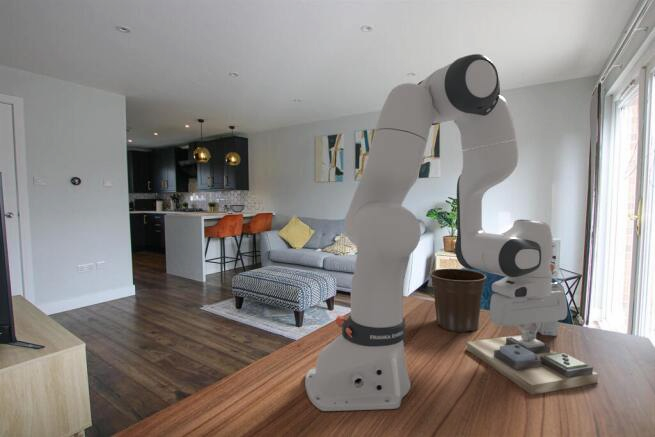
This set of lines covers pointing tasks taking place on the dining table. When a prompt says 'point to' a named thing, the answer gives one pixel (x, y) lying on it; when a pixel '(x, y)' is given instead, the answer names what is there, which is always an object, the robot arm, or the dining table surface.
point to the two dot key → (517, 353)
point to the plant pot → (457, 298)
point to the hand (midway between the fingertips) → (528, 339)
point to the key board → (531, 367)
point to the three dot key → (566, 361)
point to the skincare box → (549, 328)
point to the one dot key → (528, 342)
